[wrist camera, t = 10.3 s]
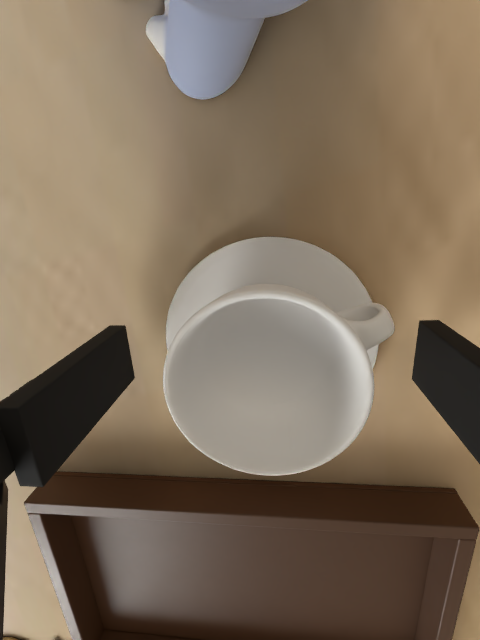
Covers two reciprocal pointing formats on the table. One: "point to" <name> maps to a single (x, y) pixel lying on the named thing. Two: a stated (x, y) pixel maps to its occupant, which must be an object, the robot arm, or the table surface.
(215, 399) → the teacup
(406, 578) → the tray
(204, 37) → the hippopotamus toy
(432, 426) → the table surface
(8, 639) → the toy pieces
